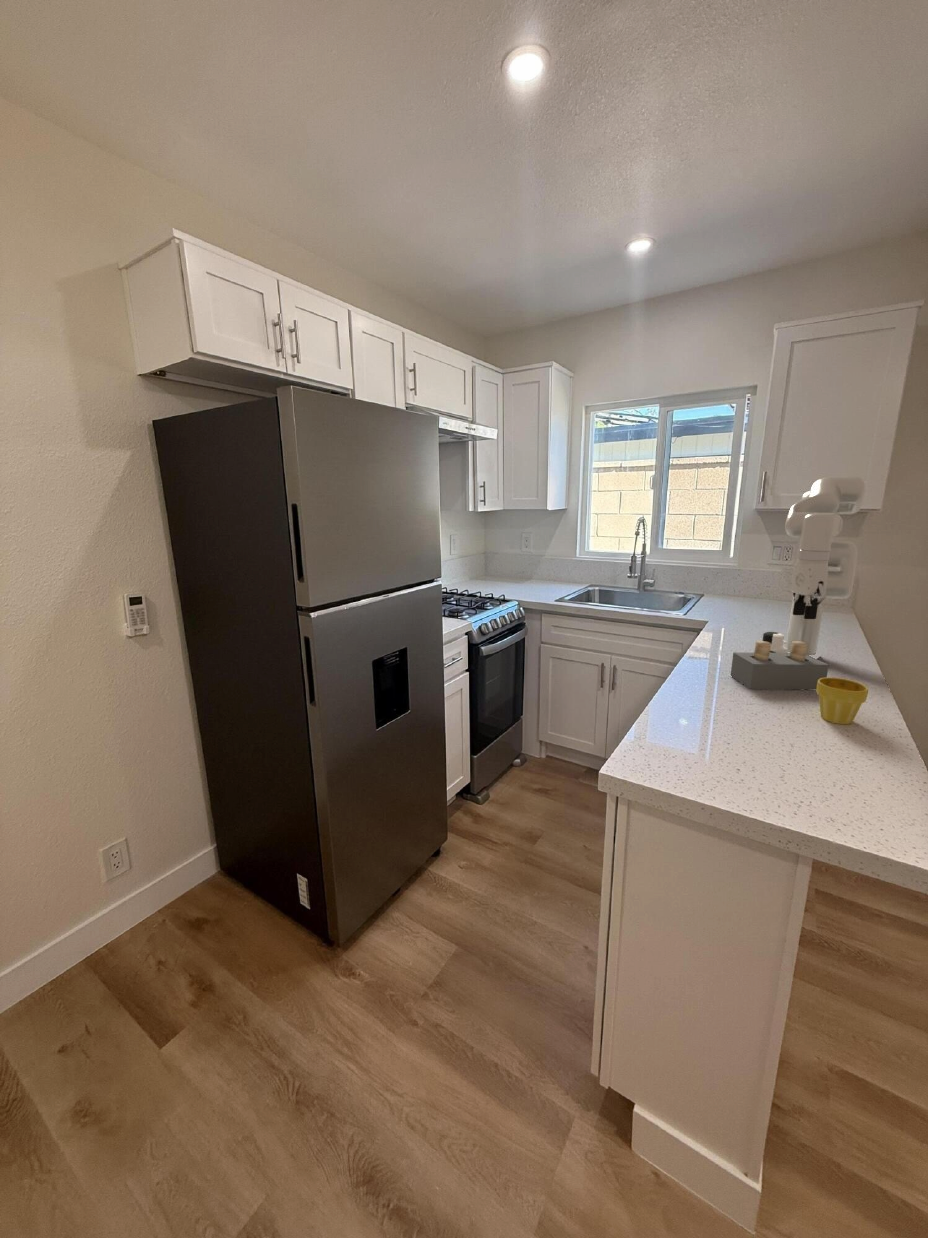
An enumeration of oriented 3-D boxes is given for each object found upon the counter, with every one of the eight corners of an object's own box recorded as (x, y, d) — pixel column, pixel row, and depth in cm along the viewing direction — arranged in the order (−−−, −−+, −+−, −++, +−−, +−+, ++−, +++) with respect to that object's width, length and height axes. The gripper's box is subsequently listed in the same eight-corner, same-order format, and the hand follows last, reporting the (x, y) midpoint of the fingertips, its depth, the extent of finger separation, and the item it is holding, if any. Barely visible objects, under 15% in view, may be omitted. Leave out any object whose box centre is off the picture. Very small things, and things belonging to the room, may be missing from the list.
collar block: (730, 676, 161) (733, 652, 159) (799, 676, 160) (803, 653, 159) (750, 689, 149) (753, 664, 147) (824, 690, 149) (828, 664, 147)
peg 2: (785, 662, 155) (789, 641, 154) (798, 662, 155) (802, 641, 154) (793, 666, 151) (797, 644, 150) (807, 666, 151) (810, 644, 150)
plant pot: (837, 729, 123) (844, 692, 120) (802, 713, 132) (807, 678, 130) (872, 726, 125) (879, 689, 122) (834, 709, 134) (840, 675, 132)
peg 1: (750, 662, 156) (753, 640, 154) (763, 662, 156) (766, 640, 154) (757, 666, 152) (760, 644, 150) (770, 666, 152) (773, 644, 150)
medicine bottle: (752, 665, 172) (757, 631, 169) (765, 662, 175) (770, 629, 172) (772, 671, 166) (777, 636, 163) (786, 668, 169) (791, 634, 166)
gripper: (783, 553, 154) (775, 611, 158) (819, 559, 138) (809, 623, 142) (807, 553, 154) (798, 611, 158) (847, 559, 137) (836, 623, 142)
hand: (804, 616), depth 150 cm, fingers open, 4 cm apart
